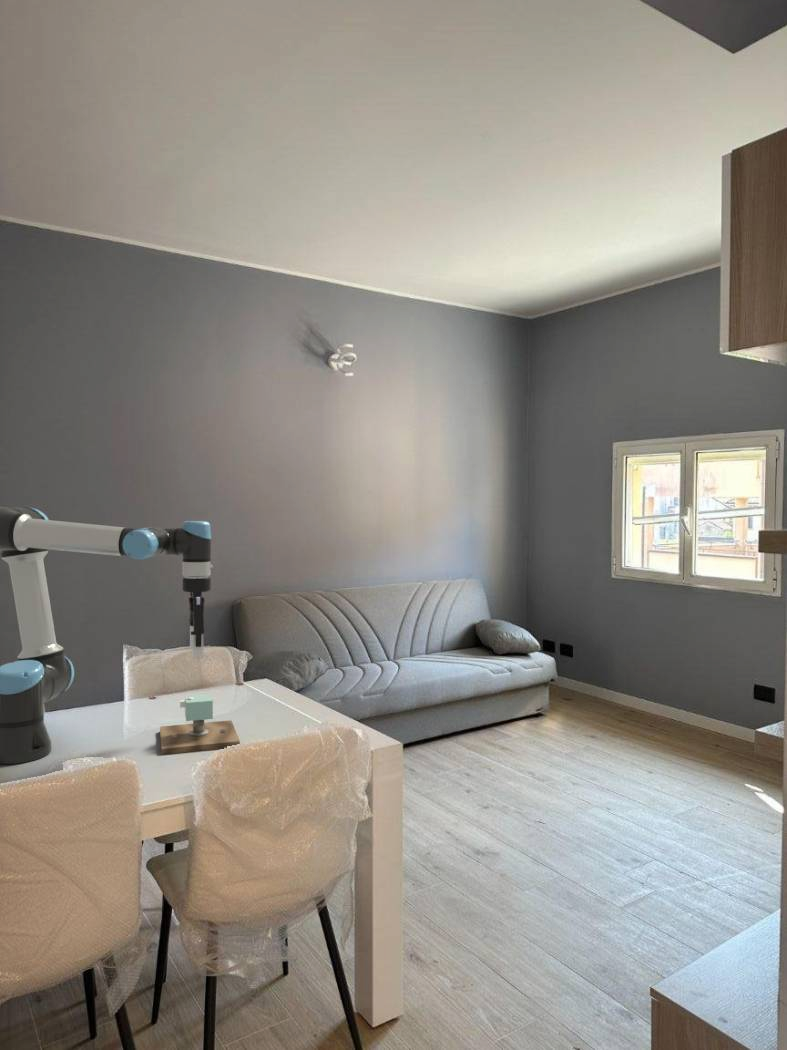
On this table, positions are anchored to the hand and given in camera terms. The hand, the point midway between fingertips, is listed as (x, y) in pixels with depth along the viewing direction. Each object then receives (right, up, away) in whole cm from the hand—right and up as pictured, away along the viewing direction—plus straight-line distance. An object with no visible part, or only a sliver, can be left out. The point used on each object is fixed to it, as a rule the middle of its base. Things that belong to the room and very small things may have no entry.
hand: (196, 653), depth 201 cm
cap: (0, -18, 0) cm, 18 cm away
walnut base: (+1, -24, +1) cm, 24 cm away
